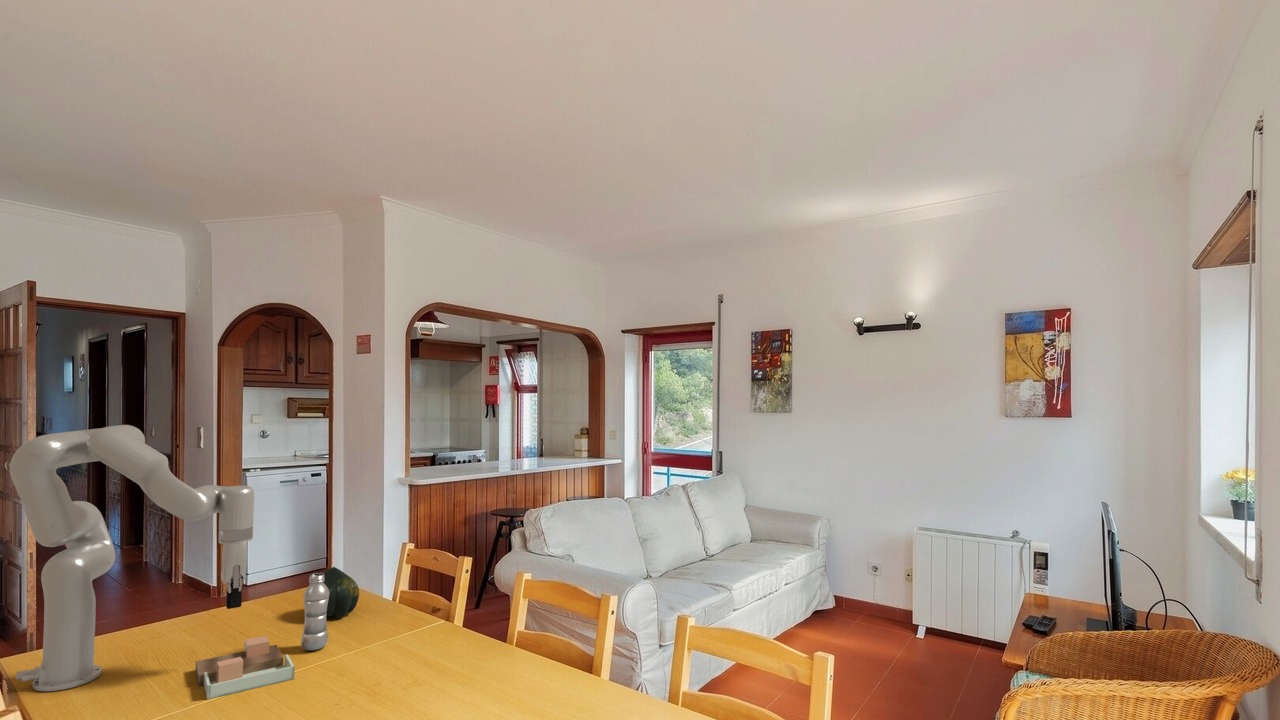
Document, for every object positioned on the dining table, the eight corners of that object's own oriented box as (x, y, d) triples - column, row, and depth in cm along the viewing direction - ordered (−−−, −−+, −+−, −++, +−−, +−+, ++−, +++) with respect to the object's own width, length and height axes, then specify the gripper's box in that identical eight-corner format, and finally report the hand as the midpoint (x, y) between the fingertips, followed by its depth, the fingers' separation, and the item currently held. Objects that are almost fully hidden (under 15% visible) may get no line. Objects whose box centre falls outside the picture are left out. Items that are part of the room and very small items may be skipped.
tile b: (246, 657, 168) (247, 645, 169) (244, 651, 172) (244, 639, 172) (269, 653, 171) (269, 641, 172) (265, 646, 175) (266, 635, 176)
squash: (331, 610, 196) (353, 563, 206) (288, 607, 199) (311, 561, 209) (354, 629, 205) (374, 583, 216) (313, 626, 209) (334, 581, 219)
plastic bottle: (295, 650, 179) (297, 576, 180) (317, 642, 185) (320, 570, 186) (311, 655, 176) (313, 579, 177) (333, 646, 182) (335, 573, 183)
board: (198, 686, 158) (199, 675, 158) (195, 671, 166) (195, 661, 166) (283, 667, 169) (283, 657, 169) (276, 654, 177) (276, 644, 177)
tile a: (216, 683, 159) (218, 687, 157) (216, 662, 159) (219, 666, 157) (240, 677, 162) (242, 681, 160) (240, 656, 162) (243, 660, 160)
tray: (207, 699, 151) (207, 686, 152) (203, 685, 159) (204, 672, 159) (294, 678, 162) (294, 666, 163) (287, 666, 170) (287, 654, 170)
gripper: (217, 531, 174) (214, 601, 173) (220, 542, 161) (218, 618, 161) (250, 527, 178) (247, 596, 177) (255, 538, 166) (253, 612, 165)
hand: (233, 607), depth 169 cm, fingers closed
